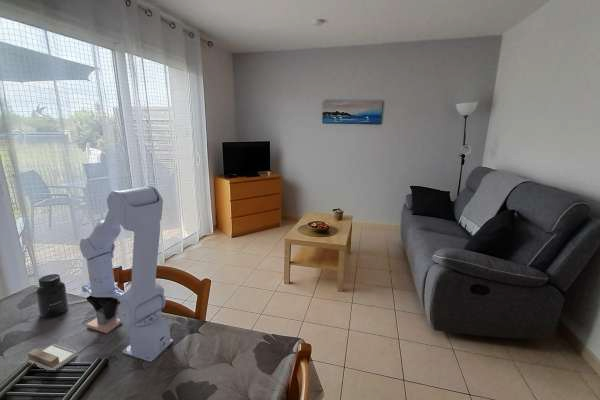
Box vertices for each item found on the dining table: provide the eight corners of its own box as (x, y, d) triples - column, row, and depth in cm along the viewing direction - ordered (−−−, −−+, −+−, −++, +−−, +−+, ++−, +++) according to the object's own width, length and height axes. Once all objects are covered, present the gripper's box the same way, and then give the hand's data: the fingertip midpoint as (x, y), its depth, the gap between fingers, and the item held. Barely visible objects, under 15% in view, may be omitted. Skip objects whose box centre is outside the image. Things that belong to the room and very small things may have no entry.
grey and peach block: (123, 321, 84) (121, 307, 82) (106, 333, 79) (104, 318, 77) (104, 316, 86) (102, 301, 84) (86, 327, 81) (84, 312, 79)
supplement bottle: (55, 319, 83) (49, 284, 81) (33, 318, 83) (26, 282, 81) (74, 306, 90) (69, 272, 87) (53, 304, 90) (47, 271, 87)
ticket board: (76, 355, 71) (75, 345, 70) (52, 372, 66) (50, 361, 65) (54, 347, 73) (52, 338, 72) (29, 363, 68) (27, 353, 67)
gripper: (133, 273, 81) (137, 313, 84) (96, 265, 85) (101, 303, 88) (111, 285, 74) (116, 328, 77) (71, 275, 78) (78, 317, 81)
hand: (106, 316), depth 82 cm, fingers closed on grey and peach block, 2 cm apart
